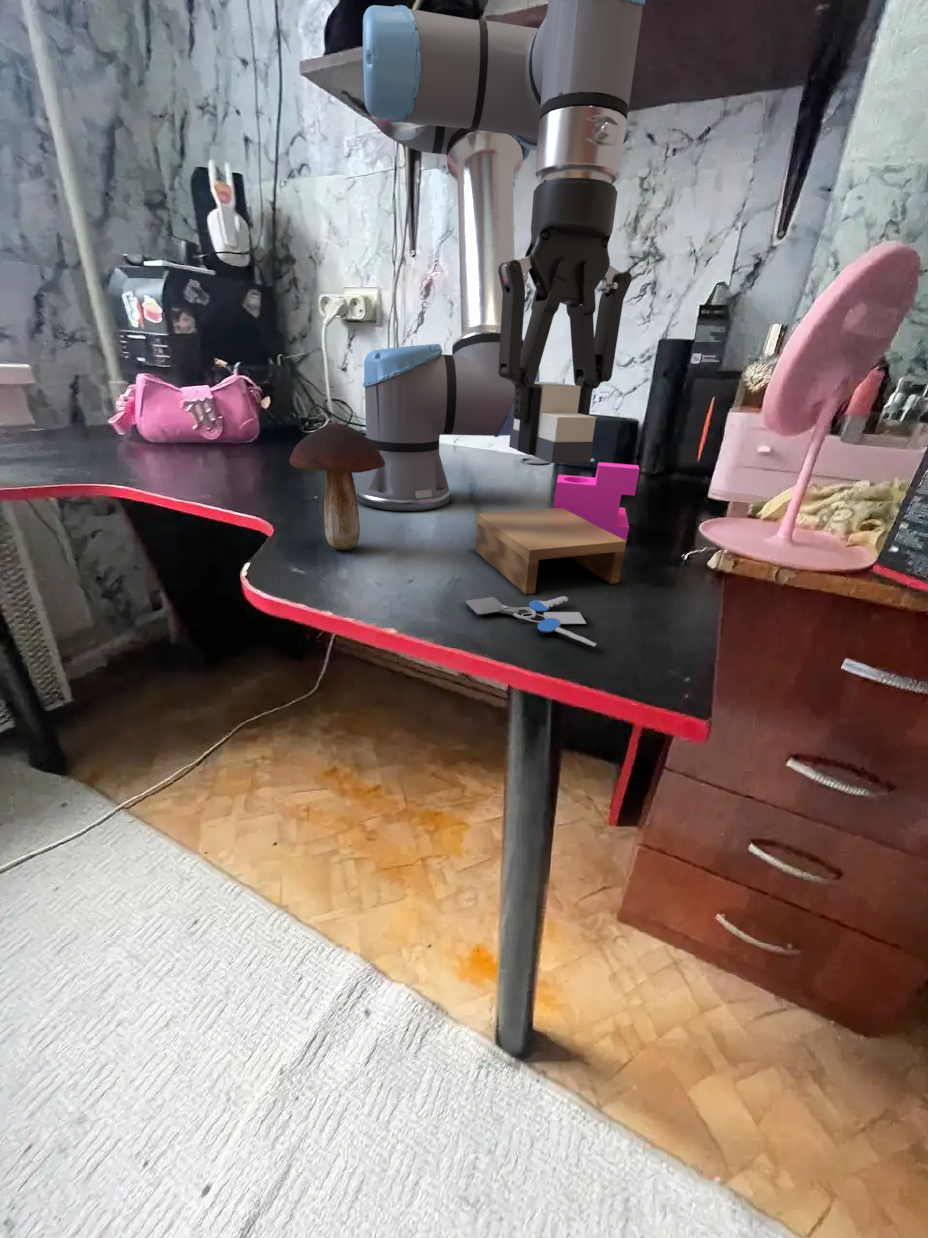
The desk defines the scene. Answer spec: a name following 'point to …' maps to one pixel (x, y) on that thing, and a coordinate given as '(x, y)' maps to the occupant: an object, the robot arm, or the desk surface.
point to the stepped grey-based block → (560, 426)
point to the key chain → (534, 614)
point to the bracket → (599, 496)
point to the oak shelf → (546, 544)
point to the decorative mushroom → (338, 476)
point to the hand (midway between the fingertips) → (547, 451)
